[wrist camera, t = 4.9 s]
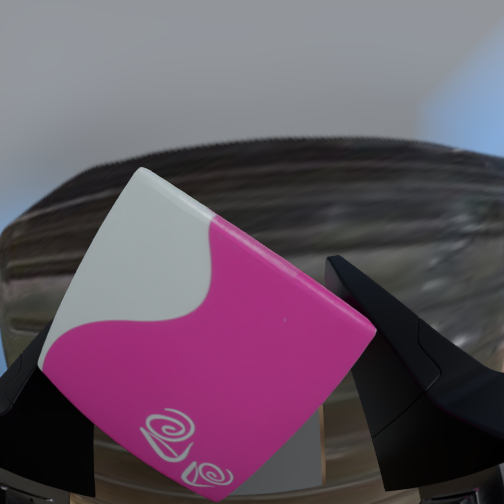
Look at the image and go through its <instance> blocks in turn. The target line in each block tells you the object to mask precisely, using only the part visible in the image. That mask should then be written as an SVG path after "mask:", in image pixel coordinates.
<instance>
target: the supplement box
mask: <svg viewBox="0 0 504 504" xmlns="http://www.w3.org/2000/svg"><path fill="white" fill-rule="evenodd" d="M376 331H377V329H376V328H375V327H374V325H373V324H372V323H371V322H370V321H369V320H368V319H367V318H366V317H365V316H363V315H362V314H361V313H359V312H358V311H357V310H355V309H354V308H353V307H351V306H350V305H349V304H347V303H346V302H345V301H343V300H342V299H340V298H339V297H338V296H336V295H335V294H333V293H332V292H331V291H329V290H328V289H326V288H325V287H323V286H322V285H321V284H319V283H318V282H316V281H315V280H314V279H312V278H311V277H309V276H308V275H306V274H305V273H304V272H302V271H301V270H299V269H298V268H296V267H295V266H294V265H292V264H291V263H289V262H288V261H286V260H285V259H283V258H282V257H280V256H279V255H277V254H276V253H275V252H273V251H272V250H270V249H269V248H267V247H266V246H264V245H263V244H261V243H260V242H258V241H257V240H255V239H254V238H252V237H251V236H249V235H248V234H246V233H245V232H243V231H242V230H240V229H239V228H237V227H236V226H234V225H233V224H231V223H230V222H228V221H226V220H225V219H223V218H222V217H220V216H219V215H217V214H216V213H214V212H213V211H211V210H210V209H208V208H207V207H205V206H204V205H202V204H200V203H199V202H197V201H196V200H194V199H193V198H192V197H190V196H189V195H187V194H185V193H184V192H182V191H181V190H179V189H178V188H176V187H175V186H173V185H172V184H170V183H169V182H167V181H165V180H164V179H162V178H161V177H159V176H157V175H156V174H154V173H153V172H151V171H150V170H148V169H146V168H142V167H141V168H139V169H138V170H137V171H136V172H135V173H134V175H133V176H132V178H131V179H130V181H129V182H128V184H127V186H126V187H125V188H124V190H123V191H122V193H121V195H120V196H119V198H118V199H117V201H116V202H115V204H114V206H113V207H112V209H111V210H110V212H109V214H108V215H107V217H106V219H105V220H104V222H103V224H102V226H101V227H100V229H99V231H98V233H97V234H96V236H95V238H94V240H93V241H92V243H91V245H90V247H89V249H88V251H87V253H86V254H85V256H84V258H83V260H82V262H81V264H80V266H79V268H78V270H77V272H76V274H75V276H74V278H73V280H72V282H71V284H70V286H69V288H68V290H67V292H66V294H65V296H64V298H63V300H62V302H61V305H60V307H59V309H58V311H57V314H56V316H55V318H54V320H53V323H52V325H51V328H50V330H49V333H48V335H47V338H46V341H45V343H44V346H43V348H42V352H41V354H40V357H39V360H38V367H39V368H40V370H41V371H42V372H43V373H44V374H45V375H46V376H47V377H48V378H49V380H50V381H51V382H52V383H53V384H54V385H55V386H56V387H57V388H58V390H59V391H60V392H61V393H62V394H63V395H64V396H65V397H66V398H67V399H68V400H69V401H70V402H71V403H72V404H73V405H74V406H75V407H76V408H77V409H78V410H79V411H80V412H81V413H82V414H84V415H85V416H86V417H87V418H88V419H89V420H90V421H91V422H93V423H94V424H95V425H96V426H97V427H98V428H99V429H101V430H102V431H103V432H104V433H105V434H107V435H108V436H109V437H110V438H112V439H113V440H114V441H115V442H117V443H118V444H119V445H121V446H122V447H123V448H125V449H126V450H127V451H129V452H130V453H132V454H133V455H134V456H136V457H137V458H139V459H140V460H142V461H143V462H144V463H146V464H147V465H149V466H151V467H152V468H154V469H155V470H157V471H158V472H160V473H162V474H163V475H165V476H167V477H168V478H170V479H172V480H173V481H175V482H177V483H179V484H180V485H182V486H184V487H186V488H188V489H190V490H192V491H194V492H195V493H197V494H199V495H201V496H204V497H206V498H208V499H210V500H212V501H214V502H219V501H221V500H222V499H224V498H225V497H227V496H228V495H229V494H231V493H232V492H233V491H235V490H236V489H237V488H238V487H239V486H241V485H242V484H243V483H244V482H245V481H246V480H247V479H249V478H250V477H251V476H252V475H253V474H254V473H255V472H256V471H257V470H258V469H259V468H260V467H261V466H262V465H263V464H264V463H265V462H266V461H268V460H269V459H270V458H271V457H272V456H273V455H274V454H275V453H276V452H277V451H278V450H279V449H280V448H281V447H282V446H283V445H284V444H285V443H286V442H287V441H288V440H289V439H290V438H291V437H292V436H293V435H294V434H295V433H296V432H297V431H298V430H299V429H300V428H301V427H302V426H303V424H304V423H305V422H306V421H307V420H308V419H309V418H310V417H311V416H312V415H313V414H314V413H315V412H316V410H317V409H318V408H319V407H320V406H321V405H322V403H323V402H324V401H325V400H326V399H327V398H328V396H329V395H330V394H331V393H332V392H333V390H334V389H335V388H336V387H337V386H338V384H339V383H340V382H341V381H342V379H343V378H344V377H345V375H346V374H347V373H348V372H349V370H350V369H351V368H352V366H353V365H354V364H355V362H356V361H357V360H358V358H359V357H360V356H361V354H362V353H363V351H364V350H365V349H366V347H367V346H368V344H369V343H370V341H371V340H372V339H373V338H374V336H375V334H376Z"/></svg>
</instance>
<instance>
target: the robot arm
mask: <svg viewBox="0 0 504 504" xmlns="http://www.w3.org/2000/svg"><path fill="white" fill-rule="evenodd" d="M325 283H326V288H327V289H328V290H329V291H331V292H332V293H333V294H335V295H336V296H338V297H339V298H340V299H342V300H343V301H345V302H346V303H347V304H349V305H350V306H351V307H353V308H354V309H355V310H357V311H358V312H359V313H361V314H362V315H363V316H365V317H366V318H367V319H368V320H369V321H370V322H371V323H372V324H373V325H374V327H375V328H376V329H377V331H376V334H375V336H374V338H373V339H372V340H371V341H370V343H369V344H368V346H367V347H366V349H365V350H364V351H363V353H362V354H361V356H360V357H359V358H358V360H357V361H356V362H355V364H354V365H353V366H352V368H351V372H352V375H353V378H354V381H355V384H356V387H357V391H358V394H359V397H360V400H361V403H362V407H363V410H364V413H365V417H366V420H367V423H368V427H369V430H370V434H371V438H373V439H372V442H373V445H374V449H375V453H376V456H377V460H378V464H379V468H380V472H381V476H382V480H383V484H384V488H385V491H396V490H403V489H410V488H417V487H418V489H419V494H420V499H421V501H420V503H419V504H504V373H502V372H497V371H494V370H492V369H489V368H488V367H486V366H484V365H483V364H481V363H480V362H478V361H477V360H476V359H474V358H473V357H471V356H470V355H469V354H467V353H466V352H464V351H463V350H462V349H460V348H459V347H457V346H456V345H454V344H453V343H452V342H450V341H449V340H448V339H446V338H445V337H443V336H442V335H441V334H440V333H438V332H437V331H436V330H435V329H433V328H432V327H431V326H430V325H428V324H427V323H426V322H425V321H424V320H422V319H421V318H419V317H418V316H417V315H416V314H415V313H414V312H412V311H411V310H410V309H409V308H407V307H406V306H405V305H404V304H403V303H401V302H400V301H399V300H398V299H396V298H395V297H394V296H392V295H391V294H390V293H389V292H387V291H386V290H385V289H384V288H382V287H381V286H380V285H378V284H377V283H376V282H375V281H373V280H372V279H371V278H369V277H368V276H367V275H365V274H364V273H363V272H361V271H360V270H359V269H357V268H356V267H355V266H353V265H352V264H351V263H349V262H348V261H347V260H345V259H344V258H343V257H341V256H339V255H336V256H330V257H327V259H326V267H325ZM54 318H55V317H54ZM54 318H53V319H52V320H51V321H50V322H49V323H48V325H47V326H46V327H45V328H44V329H43V330H42V331H41V332H40V333H39V334H38V335H37V336H36V338H35V339H34V340H33V341H32V342H31V343H30V344H29V345H28V347H27V348H26V349H25V350H24V351H23V353H21V355H20V356H19V357H18V358H17V359H16V360H15V362H14V363H13V364H12V365H11V366H10V367H9V369H8V370H7V371H6V372H5V373H4V374H3V375H2V376H1V377H0V504H70V492H71V493H75V494H80V495H84V496H89V497H94V498H95V480H94V450H93V440H94V423H93V422H91V421H90V420H89V419H88V418H87V417H86V416H85V415H84V414H82V413H81V412H80V411H79V410H78V409H77V408H76V407H75V406H74V405H73V404H72V403H71V402H70V401H69V400H68V399H67V398H66V397H65V396H64V395H63V394H62V393H61V392H60V391H59V390H58V388H57V387H56V386H55V385H54V384H53V383H52V382H51V381H50V380H49V378H48V377H47V376H46V375H45V374H44V373H43V372H42V371H41V370H40V368H39V367H38V360H39V357H40V354H41V352H42V348H43V346H44V343H45V341H46V338H47V335H48V333H49V330H50V328H51V325H52V323H53V320H54Z"/></svg>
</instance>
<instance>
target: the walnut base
mask: <svg viewBox="0 0 504 504" xmlns="http://www.w3.org/2000/svg"><path fill="white" fill-rule="evenodd" d="M325 484H326V467H325V439H324V419H323V404H322V405H321V406H320V407H319V408H318V409H317V410H316V412H315V413H314V414H313V415H312V416H311V417H310V418H309V419H308V420H307V421H306V422H305V423H304V424H303V426H302V427H301V428H300V429H299V430H298V431H297V432H296V433H295V434H294V435H293V436H292V437H291V438H290V439H289V440H288V441H287V442H286V443H285V444H284V445H283V446H282V447H281V448H280V449H279V450H278V451H277V452H276V453H275V454H274V455H273V456H272V457H271V458H270V459H269V460H268V461H266V462H265V463H264V464H263V465H262V466H261V467H260V468H259V469H258V470H257V471H256V472H255V473H254V474H253V475H252V476H251V477H250V478H249V479H247V480H246V481H245V482H244V483H243V484H242V485H241V486H239V487H238V488H237V489H236V490H235V491H233V492H232V493H231V494H229V495H253V494H266V493H276V492H285V491H292V490H299V489H305V488H310V487H316V486H321V485H325ZM193 494H196V495H199V494H197V493H195V492H194V491H193Z"/></svg>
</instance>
